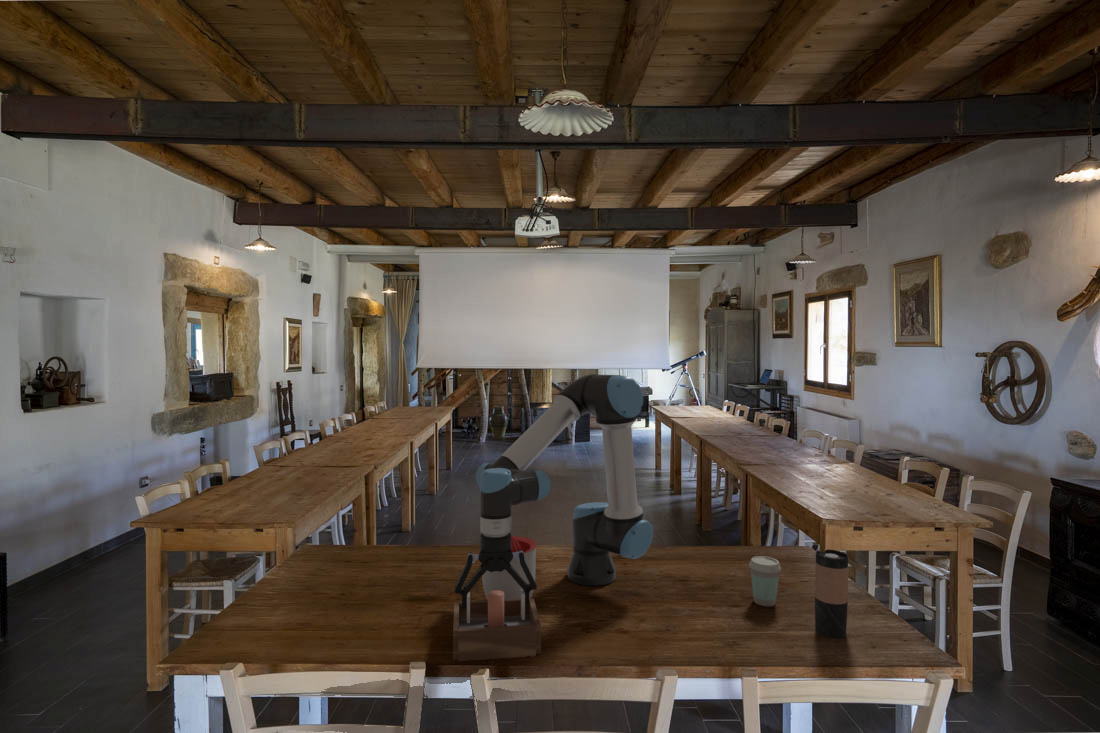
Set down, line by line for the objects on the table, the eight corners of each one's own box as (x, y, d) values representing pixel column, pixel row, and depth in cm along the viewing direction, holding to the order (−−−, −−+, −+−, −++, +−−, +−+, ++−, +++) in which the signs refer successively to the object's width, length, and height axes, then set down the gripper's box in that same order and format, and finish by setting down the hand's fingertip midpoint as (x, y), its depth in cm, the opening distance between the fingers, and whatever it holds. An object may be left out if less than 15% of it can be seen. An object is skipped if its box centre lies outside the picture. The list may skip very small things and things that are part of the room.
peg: (487, 638, 149) (487, 590, 149) (503, 637, 150) (503, 589, 150) (488, 646, 145) (488, 597, 145) (504, 645, 146) (504, 596, 146)
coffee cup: (783, 609, 166) (783, 567, 166) (750, 607, 168) (751, 564, 168) (777, 597, 175) (778, 556, 174) (747, 594, 176) (747, 554, 176)
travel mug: (845, 641, 148) (846, 561, 148) (811, 633, 152) (813, 555, 152) (848, 629, 155) (850, 552, 154) (816, 622, 159) (817, 547, 158)
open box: (454, 628, 154) (454, 601, 154) (533, 624, 157) (533, 597, 157) (453, 661, 138) (453, 631, 138) (541, 655, 141) (541, 626, 141)
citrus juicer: (494, 588, 181) (494, 522, 180) (545, 598, 173) (546, 529, 173) (464, 608, 167) (464, 536, 166) (519, 620, 159) (519, 545, 159)
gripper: (443, 539, 142) (444, 629, 142) (548, 535, 145) (547, 622, 146) (445, 530, 149) (445, 615, 150) (544, 526, 152) (543, 609, 153)
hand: (495, 619), depth 148 cm, fingers open, 13 cm apart
